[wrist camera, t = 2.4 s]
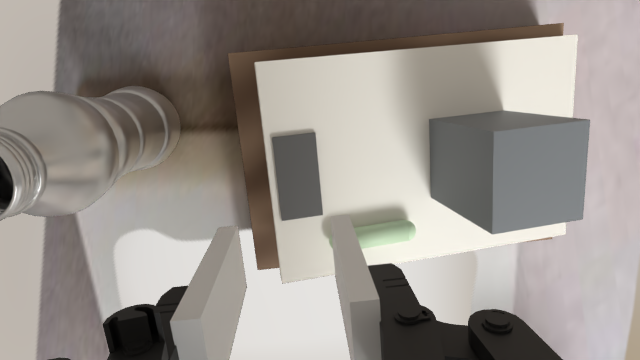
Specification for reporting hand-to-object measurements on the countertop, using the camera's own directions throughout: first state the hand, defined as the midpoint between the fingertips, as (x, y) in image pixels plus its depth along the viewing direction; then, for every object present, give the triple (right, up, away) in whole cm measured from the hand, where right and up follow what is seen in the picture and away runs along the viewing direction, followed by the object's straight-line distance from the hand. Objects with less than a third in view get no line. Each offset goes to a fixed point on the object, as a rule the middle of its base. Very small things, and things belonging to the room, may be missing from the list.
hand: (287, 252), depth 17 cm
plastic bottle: (-13, +8, +19) cm, 24 cm away
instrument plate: (+9, +5, +15) cm, 19 cm away
